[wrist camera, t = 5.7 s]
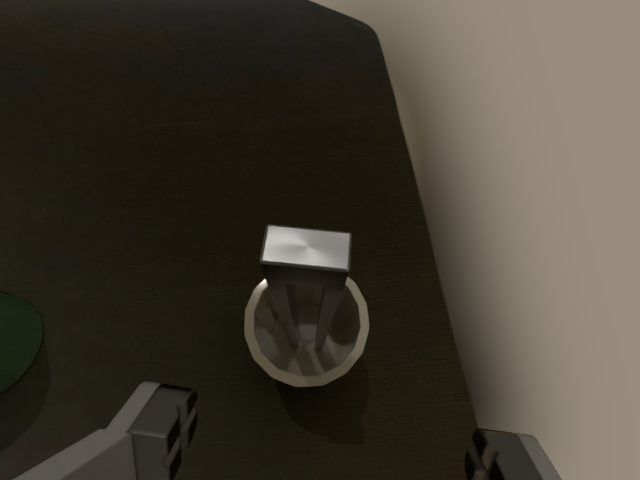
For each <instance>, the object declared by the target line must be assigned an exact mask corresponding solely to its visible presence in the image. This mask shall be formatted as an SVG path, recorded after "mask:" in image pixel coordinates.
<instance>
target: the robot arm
mask: <svg viewBox="0 0 640 480" xmlns="http://www.w3.org/2000/svg"><path fill="white" fill-rule="evenodd" d="M196 401H197V390H196V389H192V388H186V387H180V386H174V385H168V384H160V383H154V382H148V381H145V382H143V383H142V384H140V385H139V386H138V388H137V389H136V390H135V391H134V393H133V394H132V395H131V397H130V398H129V399H128V401H127V402H126V403H125V404H124V406H123V407H122V408H121V410H120V411H119V412H118V414H117V415H116V416H115V417H114V419H113V420H112V421H111V423H110V424H109V425H108V427H107V428H106V429H99V430H97V431H95V432H94V433H92V434H90V435H88V436H87V437H85V438H83V439H82V440H80V441H78V442H76V443H75V444H73V445H71V446H69V447H68V448H66V449H64V450H63V451H61V452H59V453H57V454H56V455H54V456H52V457H51V458H49V459H47V460H45V461H44V462H42V463H40V464H38V465H37V466H35V467H33V468H32V469H30V470H28V471H26V472H25V473H23V474H21V475H19V476H18V477H16V478H14V479H13V480H173V479H174V477H175V474H176V472H177V470H178V468H179V466H180V464H181V452H182V451H183V450H185V449H186V448H187V447H189V445H190V442H191V440H192V438H193V435H194V432H195V429H196V425H197V419H198V410H197V409H196V408H195V407H194V405H195V403H196ZM472 439H473V441H474V445H472V446H471V447H469V448H468V449H467V452H466V455H465V472H466V477H467V480H561V478H560V476H559V474H558V473H557V471H556V470H555V468H554V466H553V465H552V463H551V461H550V460H549V458H548V457H547V455H546V453H545V452H544V450H543V449H542V447H541V445H540V444H539V442H538V440H537V439H536V438H535V437H534V436H532V435H527V434H519V433H511V432H505V431H497V430H489V429H482V428H478V429H476V430H475V431H474V434H473V436H472Z"/></svg>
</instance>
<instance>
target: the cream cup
mask: <svg viewBox="0 0 640 480" xmlns="http://www.w3.org/2000/svg"><path fill="white" fill-rule="evenodd" d="M294 287H295V295H296V303H297V312H298V320H299V328H300V338H299V346H298V348H293V347H291V346H290V344H289V341H288V338H287V336H286V333H285V330H284V328H283V325H282V322H281V320H280V317H279V314H278V311H277V309H276V306H275V303H274V301H273V298H272V295H271V293H270V290H269V287H268V285H267V282H266V279H265V278H264V279H263V280H262V281H261V282H260V283H259V284H258V285H257V286H256V287H255V289H254V291H253V293H252V295H251V298H250V300H249V302H248V304H247V307H246V309H245V323H244V335H245V339H246V342H247V344H248V347H249V349H250V352H251V355H252V357H253V359H254V361H255V362H256V363H257V364H258V365H259V366H260V367H261V368H262V369H263V370H264V371H265V372H266V373H267V374H268V375H269V376H270V377H272V378H273V379H276V380H278V381H281V382H284V383H286V384H289V385H291V386H294V387H297V388H300V389H304V388H318V387H321V386H323V385H326V384H327V383H329V382H331V381H333V380H335V379H337V378H339V377H341V376H342V375H344V374H346V373H347V372H348V371H349V370H350V368H351V367H352V366H353V365H354V363H355V362H356V361H357V360H358V358H359V357H360V356H361V354H362V352H363V351H364V347H365V343H366V340H367V336H368V332H369V318H368V310H367V304H366V301H365V300H364V298H363V296H362V294H361V292H360V290H359V289H358V287H357V285H356V284H355V282H354V281H353V280H351V279H350V278H349V277H347V280H346V283H345V286H344V289H343V292H342V295H341V298H340V301H339V303H338V306H337V309H336V312H335V315H334V317H333V320H332V323H331V326H330V329H329V332H328V334H327V337H326V340H325V343H324V346H323V348H322V350H314V346H315V336H316V328H317V322H318V315H319V308H320V301H321V294H322V288H323V287H322V286H312V285H302V284H294Z"/></svg>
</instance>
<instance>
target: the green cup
mask: <svg viewBox="0 0 640 480" xmlns="http://www.w3.org/2000/svg"><path fill="white" fill-rule="evenodd" d="M42 335H43V324H42V320H41V317H40V314H39V312H38V311H37V309H36V308H35V307H34V306H33V305H32V304H31V303H30V302H28V301H27V300H25V299H23V298H20V297H16V296H14V295H11V294H9V293H6V292H3V291H0V393H1V392H3V391H5V390H6V389H8V388H9V387H10V386H11V385H13V384H14V383H15V382H16V381H17V380H18V379H19V378H20V377H21V376H22V375H23V374H24V373H25V372H26V371H27V369H28V368H29V367H30V365H31V364H32V362H33V360H34V359H35V357H36V355H37V353H38V351H39V348H40V345H41V341H42Z"/></svg>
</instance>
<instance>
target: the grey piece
mask: <svg viewBox="0 0 640 480" xmlns="http://www.w3.org/2000/svg"><path fill="white" fill-rule="evenodd" d="M351 246H352V234H351V233H350V232H342V231H333V230H323V229H313V228H303V227H293V226H284V225H274V224H267V226H266V228H265V233H264V239H263V244H262V249H261V255H260V260H259V261H260V265H261V267H262V270H263V273H264V276H265V279H266V282H267V285H268V287H269V290H270V293H271V295H272V298H273V301H274V303H275V306H276V309H277V311H278V314H279V317H280V320H281V322H282V325H283V328H284V330H285V333H286V336H287V338H288V341H289V344H290V346H291V347H293V348H298V346H299V338H300V328H299V320H298V312H297V303H296V295H295V287H294V284H302V285H312V286H322V287H323V288H322V294H321V301H320V308H319V315H318V322H317V328H316V336H315V346H314V350H322V348H323V346H324V343H325V340H326V337H327V334H328V332H329V329H330V326H331V323H332V320H333V317H334V315H335V312H336V309H337V306H338V303H339V301H340V298H341V295H342V292H343V289H344V286H345V283H346V280H347V277H348V274H349V272H350V263H351Z"/></svg>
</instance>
